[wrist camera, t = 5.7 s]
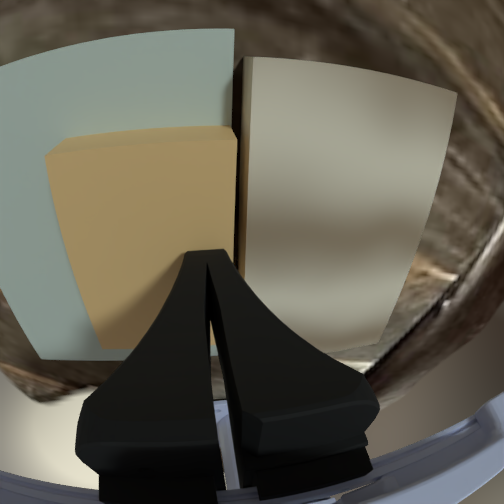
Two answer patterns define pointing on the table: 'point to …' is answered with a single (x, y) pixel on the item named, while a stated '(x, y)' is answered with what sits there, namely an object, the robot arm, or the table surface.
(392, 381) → the table surface
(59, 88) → the mat
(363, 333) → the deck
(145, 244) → the tan rectangular block
